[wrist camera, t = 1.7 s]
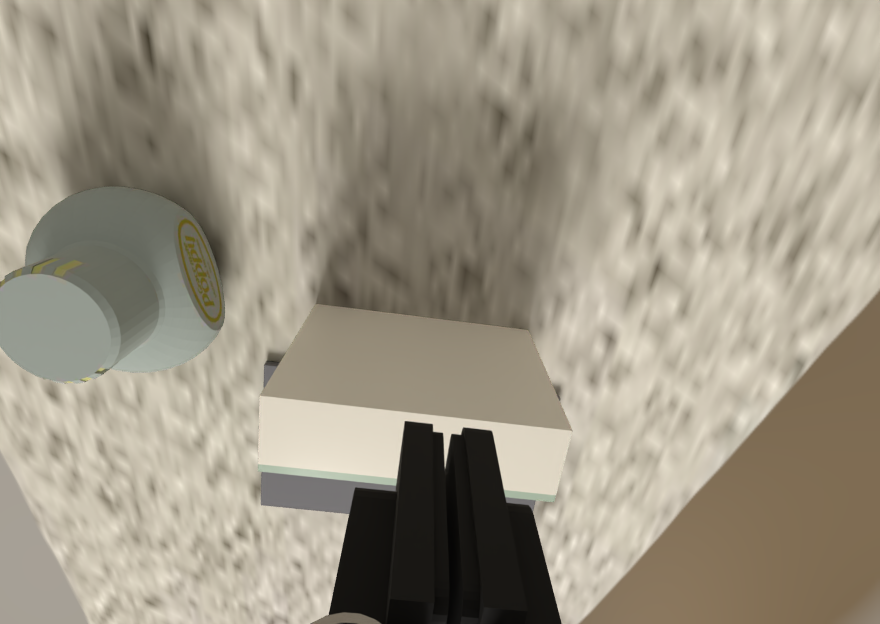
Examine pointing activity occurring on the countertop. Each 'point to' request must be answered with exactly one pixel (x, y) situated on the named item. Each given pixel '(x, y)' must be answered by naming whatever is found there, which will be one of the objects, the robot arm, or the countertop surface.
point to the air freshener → (111, 288)
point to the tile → (409, 398)
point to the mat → (320, 485)
